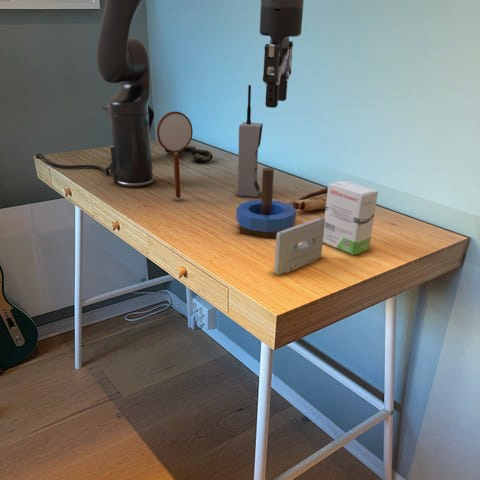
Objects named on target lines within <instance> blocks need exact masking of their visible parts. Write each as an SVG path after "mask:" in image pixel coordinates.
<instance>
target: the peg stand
mask: <svg viewBox="0 0 480 480" xmlns="http://www.w3.org/2000/svg"><path fill="white" fill-rule="evenodd" d="M274 174H275V169H274V168H273V167H263V168H262V178H261V180H262V182H261V199H260V200H261V215H271V212H272V200H273V195H274V194H273V193H274V191H273V190H274V176H275V175H274ZM285 230H286V229H285ZM282 231H283V230H282ZM278 232H280V231H273V232H262V231H255V230H250V229H247V228H245V227H242V226H240V225H239V233H238V234H240V235H249V236H255V237H256V236H257V237H264V238H272V239H276V235H277V233H278Z"/></svg>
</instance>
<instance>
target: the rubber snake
mask: <svg viewBox="0 0 480 480" xmlns="http://www.w3.org/2000/svg"><path fill="white" fill-rule="evenodd" d="M164 151H165V153H167V154H170V153H172V152H170V151H167V150H166V149H164ZM180 152H181V153H191V154H192V155H193V156H192V159H193V162H195V163H197V164H206V163H209V162H211V161H212V160H213V157H214V156H213V154H212V152H211V151H209V150H208V149H207V150H206V149H200V148H199V149H198V148H196V147H195V146H193V145H191V146H190V145H188V146H187V147H186V148H185V149H183V150H182V151H179V152H178V153H180Z"/></svg>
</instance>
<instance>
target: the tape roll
mask: <svg viewBox="0 0 480 480" xmlns="http://www.w3.org/2000/svg"><path fill="white" fill-rule="evenodd" d="M235 210H236V216H235V220H236V222H237V223H238V225H239V227H240V226H242V227H245V228H247V229H250V230H255V231H262V232H273V231H282V230H285V229H288V228H291V227H294V224H295V223H296V215H297V209H295V208H294V207H293V204H290V203H286V202H283V201H281V200H273V199H272V212H271V215H261V199H251V200H248V201H245V202H242V203H240V204H239V205H238V206H237V207H236V209H235Z"/></svg>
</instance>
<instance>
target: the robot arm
mask: <svg viewBox="0 0 480 480" xmlns="http://www.w3.org/2000/svg"><path fill="white" fill-rule="evenodd" d="M143 2H144V0H105V4H104V10H103V15H102V21H101V26H100V30H99V35H98V40H97V45H96V53H95V54H96V55H95V58H96V59H95V60H96V67H97V71H98V74H99V75H100V77H101V78H102V79H103V80H104V82H106V83H109V84H119V89H118V91H117V92H116V94H115V95H114V96H113V97H112V98H111V99H110V100H109V102H108V105H109V110H110V117H109V119H110V126H111V135H112V144H111V145H110V146H109V149H110V157H111V162H109V166H106V168H104V167H102V166H100V165H97V164H75V165H74V164H73V165H72V164H71V165H69V164H67V165H66V164H59V163H56V162H54V161H51V160H49V159H47V158H46V157H45V156H44V155H43V154H42V153H37V154H36V156H35V158H36V159H38V158H39V159H40V158H41V159H42V160H43V161H44V162H45V163H48V164H49V165H52V166H55V167H57V168H62V169H63V168H64V169H80V168H82V169H83V168H93V169H99V170H100V171H101V172H103V173H104V174H105V175H106V176H109V175H110V174H111V175H113V183H114V184H115V185H116V184H117V185H118V186H121V187H127V188H141V187H147V186H149V185H152V184H154V173H153V161H152V148H151V135H150V133H151V132H150V133H149V120H148V115H149V114H148V106H149V103H150V100H151V81H150V80H151V79H150V73H151V72H150V59H149V55H148V51H147V49H146V46H145V44H144V43H142V41H141V40H140V39H138V38H136V37H131V36H130V33H131V28H132V24H133V21H134V18H135V16H136V14H137V12H138V10H139V8H140V7H141V5H142V3H143ZM304 2H305V0H260V15H259V17H260V18H259V34H260V35H261V36H265V37H269V38H270V40H269V43H265V44H264V47H263V49H264V53H263V54H264V56H263V73H262V82H263V83H264V85H265V88H266V89H265V103H264V104H265V105H264V106H265V107H266V108H272V109H276V108H277V107H278V105H279V102H285V101H287V95H288V83H289V82H288V81H289V78H290V76H291V74H292V62H293V61H292V60H293V47H294V42H293V41H292V40H290V37H291V38H295V37H300V36H301V35H302V26H303V13H304ZM109 170H110V171H109Z"/></svg>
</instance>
